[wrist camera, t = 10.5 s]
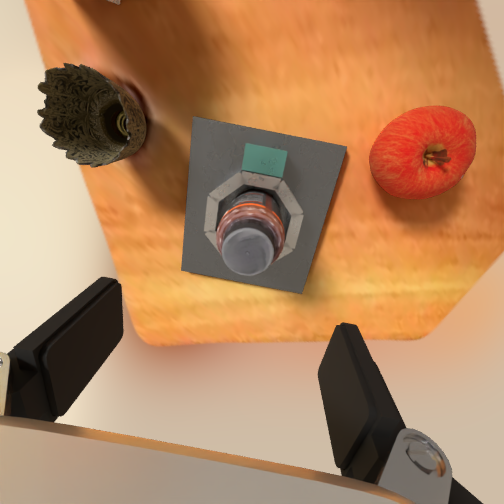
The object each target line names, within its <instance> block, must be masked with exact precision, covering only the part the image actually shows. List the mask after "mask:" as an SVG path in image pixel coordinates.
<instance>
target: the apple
mask: <svg viewBox="0 0 504 504" xmlns="http://www.w3.org/2000/svg"><path fill="white" fill-rule="evenodd" d="M475 152H476V132H475V128H474V125H473V123H472V122H471V120H470V119H469V118H468V117H467V116H466V115H465V114H463V113H462V112H460V111H458V110H455V109H453V108H450V107H445V106H427V107H420V108H416V109H413V110H410V111H408V112H406V113H404V114H402V115H400V116H399V117H397V118H396V119H394V120H393V121H392V122H390V123H389V124H388V125H387V126H386V127H385V128H384V129H383V131H382V132H381V133H380V135H379V136H378V137H377V139H376V141H375V142H374V144H373V146H372V149H371V152H370V156H369V163H370V168H371V172H372V175H373V177H374V178H375V180H376V181H377V183H378V184H379V185H380V186H381V187H382V188H383V189H384V190H385V191H386V192H387V193H389V194H391V195H393V196H396V197H399V198H405V199H425V198H430V197H433V196H436V195H439V194H441V193H443V192H445V191H447V190H449V189H450V188H452V187H453V186H455V185H456V184H457V183H458V182H459V181H460V180H461V179H462V177H463V176H464V174H465V172H466V171H467V169H468V168H469V166H470V165H471V163H472V161H473V159H474V156H475Z"/></svg>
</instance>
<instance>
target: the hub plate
mask: <svg viewBox="0 0 504 504" xmlns="http://www.w3.org/2000/svg"><path fill="white" fill-rule="evenodd" d="M346 149H347V146H342V145H337V144H332V143H327V142H322V141H316V140H311V139H306V138H301V137H296V136H291V135H286V134H281V133H276V132H271V131H266V130H261V129H256V128H251V127H246V126H241V125H235V124H230V123H225V122H220V121H215V120H210V119H205V118H200V117H195V116H193V122H192V136H191V149H190V162H189V175H188V188H187V201H186V215H185V228H184V241H183V254H182V267H181V271H186V272H192V273H197V274H202V275H207V276H212V277H217V278H223V279H228V280H233V281H238V282H243V283H248V284H254V285H259V286H264V287H269V288H274V289H279V290H285V291H290V292H295V293H300V294H302V292H303V289H304V286H305V282H306V279H307V276H308V273H309V269H310V266H311V263H312V260H313V256H314V253H315V250H316V246H317V243H318V240H319V237H320V233H321V230H322V227H323V224H324V220H325V217H326V214H327V211H328V207H329V204H330V201H331V198H332V194H333V191H334V188H335V185H336V181H337V178H338V175H339V172H340V168H341V165H342V162H343V159H344V155H345V152H346ZM254 189H255V190H262V191H265V192H267V193H268V194H270V195H271V196H272V197H273V198H274V199H275V200H276V201H277V203H278V205H279V207H280V211H281V216H282V221H283V227H284V233H285V242H284V247H283V250H282V253H281V254H280V256H279V257H278V259H277V260H276V261H275V262H274V263H273V264H272V265H270V266H269V267H268V268H267V269H266V270H265V271H263V272H262V273H260V274H257V275H254V276H243V275H240V274H237V273H235V272H233V271H232V270H230V269H229V268H228V267H227V265H226V264H225V262H224V260H223V257H222V255H221V254H220V253H219V250H218V247H217V244H216V232H217V228H218V225H219V223H220V221H221V219H222V218H223V216H224V214H225V213H226V211H227V210H228V208H229V206H230V205H231V203H232V201H233V200H234V199H235V198H236V197H237V196H238V195H239V194H241V193H242V192H244V191H247V190H254Z"/></svg>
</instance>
